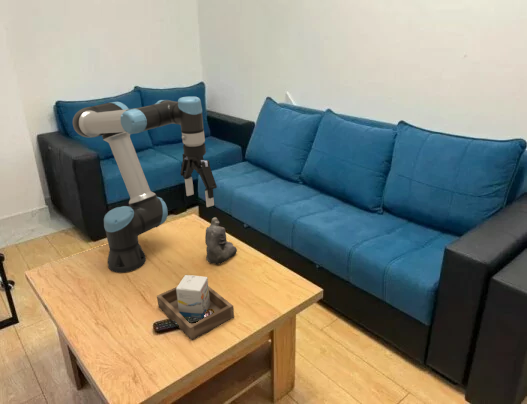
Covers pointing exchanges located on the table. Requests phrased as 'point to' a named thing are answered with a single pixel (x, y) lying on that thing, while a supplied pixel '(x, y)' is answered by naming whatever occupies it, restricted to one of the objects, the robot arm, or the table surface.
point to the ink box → (193, 296)
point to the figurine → (218, 244)
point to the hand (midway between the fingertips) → (199, 200)
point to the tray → (195, 330)
